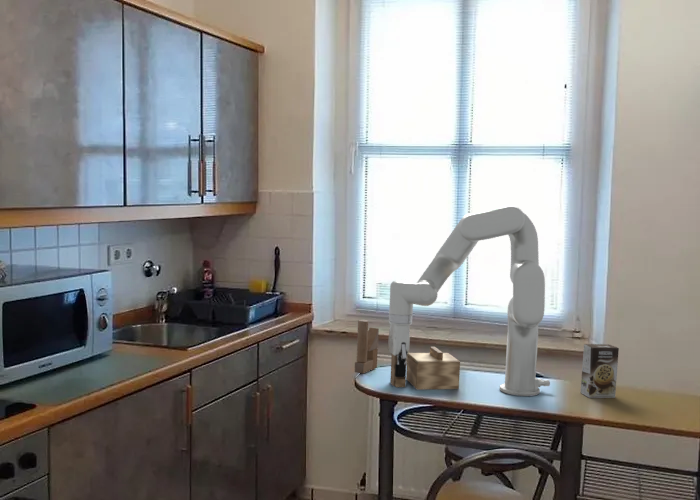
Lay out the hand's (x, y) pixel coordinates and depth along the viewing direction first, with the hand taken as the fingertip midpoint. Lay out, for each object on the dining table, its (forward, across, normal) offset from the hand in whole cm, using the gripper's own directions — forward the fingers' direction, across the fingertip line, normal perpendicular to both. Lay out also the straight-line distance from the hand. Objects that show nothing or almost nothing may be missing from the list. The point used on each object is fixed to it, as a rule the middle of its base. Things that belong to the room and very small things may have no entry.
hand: (398, 374), depth 247 cm
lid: (-5, 0, +12) cm, 13 cm away
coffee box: (+4, +16, +62) cm, 64 cm away
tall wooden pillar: (+3, 0, 0) cm, 3 cm away
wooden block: (+4, -20, -6) cm, 21 cm away
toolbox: (+3, 0, +9) cm, 9 cm away
